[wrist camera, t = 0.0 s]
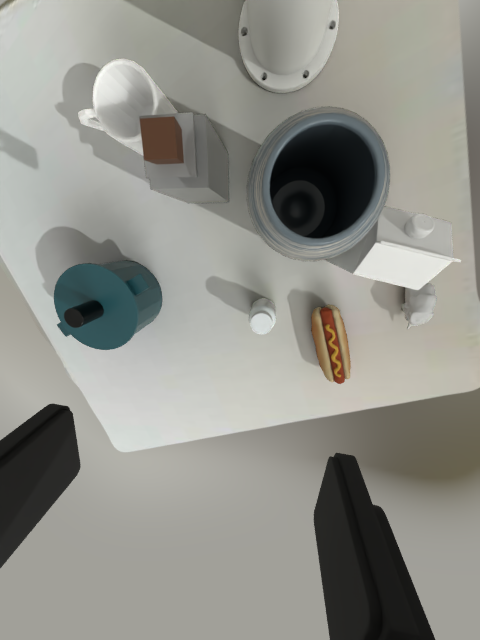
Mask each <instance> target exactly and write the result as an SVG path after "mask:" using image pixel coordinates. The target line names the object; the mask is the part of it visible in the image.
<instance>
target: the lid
mask: <svg viewBox="0 0 480 640" xmlns="http://www.w3.org/2000/svg"><path fill="white" fill-rule="evenodd" d="M54 304H55V309H56V312H57V315H58V317H59V319H60V321H61V323H62V324H63V326H64V327H65V329H66V330H67V331H68V332H69V333H70V334H71V335H72V336H73V337H74V338H75V339H77V340H78V341H80V342H81V343H83V344H85V345H87V346H89V347H92V348H95V349H101V350H110V349H115V348H118V347H120V346H122V345H124V344H126V343H127V342H128V341H129V340H130V339H131V338H132V337H133V336H134V334H135V332H136V330H137V327H138V323H139V307H138V303H137V300H136V297H135V295H134V293H133V291H132V290H131V288H130V287H129V285H128V284H127V283H126V282H125V280H124V279H123V278H122V277H120V276H119V275H118V274H117V273H115V272H114V271H112V270H110V269H109V268H107V267H104V266H101V265H97V264H91V263H87V264H79V265H75V266H73V267H71V268H69V269H67V270H66V271H65V272H64V273H63V274H62V275H61V276H60V278H59V279H58V281H57V283H56V286H55V290H54Z"/></svg>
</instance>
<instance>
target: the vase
mask: <svg viewBox="0 0 480 640" xmlns="http://www.w3.org/2000/svg"><path fill="white" fill-rule="evenodd" d="M389 184H390V165H389V159H388V154H387V151H386V148H385V146H384V143H383V141H382V139H381V137H380V136H379V134H378V133H377V131H376V130H375V129H374V127H373V126H372V125H371V124H370V123H369V122H368V121H367V120H365V119H364V118H362V117H361V116H359V115H358V114H356V113H354V112H352V111H349V110H346V109H343V108H337V107H330V106H328V107H315V108H311V109H308V110H304V111H301V112H299V113H297V114H295V115H293V116H291V117H289V118H288V119H286V120H285V121H283V122H282V123H281V124H279V125H278V126H277V127H276V128H275V129H274V130H273V131H272V132H271V133H270V134H269V135H268V136H267V138H266V139H265V140H264V142H263V143H262V145H261V146H260V148H259V150H258V152H257V154H256V156H255V158H254V160H253V162H252V165H251V168H250V172H249V176H248V182H247V204H248V210H249V214H250V217H251V220H252V223H253V225H254V227H255V229H256V230H257V232H258V234H259V235H260V236H261V238H262V239H263V240H264V242H265V243H266V244H268V245H269V246H270V247H271V248H272V249H273V250H275V251H277V252H278V253H280V254H282V255H283V256H286V257H289V258H291V259H295V260H301V261H319V260H325V259H329V258H332V257H335V256H337V255H340V254H341V253H343V252H345V251H347V250H349V249H350V248H352V247H353V246H354V245H356V244H357V243H358V242H360V241H361V240H362V239H363V238H364V237H365V236H366V234H367V233H368V232H369V231H370V230H371V228H372V227H373V226H374V224H375V223H376V222H377V220H378V218H379V216H380V214H381V212H382V210H383V208H384V205H385V202H386V199H387V196H388V190H389Z"/></svg>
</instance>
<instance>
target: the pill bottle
mask: <svg viewBox="0 0 480 640" xmlns="http://www.w3.org/2000/svg"><path fill="white" fill-rule="evenodd" d="M275 321H276V308H275V305H274V304H273V302H272V301H270V300H269V299H265V298H262V299H258V300H256V301H255V302H254V303H253V305H252V307H251V310H250V314H249V322H250V326H251V329H252V330H253V331H254V332H255V333H257V334H266V333H268V332H269V331H270V330H271V328H272V327H273V326H274V324H275Z"/></svg>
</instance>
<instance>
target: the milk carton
mask: <svg viewBox="0 0 480 640" xmlns="http://www.w3.org/2000/svg"><path fill="white" fill-rule="evenodd" d="M327 261H328V262H330V263H332V264H334V265H336V266H338V267H340V268H342V269H344V270H346V271H348V272H350V273H352V274H355V275H358V276H362V277H366V278H370V279H374V280H378V281H382V282H386V283H390V284H394V285H398V286H402V287H406V288H410V289H414V290H419V289H420V288H422V287H423V286H424V285H425V284H426V283H427V282H429V281H430V280H431V279H432V278H433V277H435V276H436V275H437V274H438V273H439V272H440V271H442V270H443V269H444V268H445V267H446V266H448V265H449V264H450V263H451V262H452V261H454V262H461V260H459V259H455V258H454V257H453V241H452V225H451V222H449V221H446V220H442V219H438V218H434V217H430V216H428V215H426V214H422V213H417V214H416V213H412V212H408V211H404V210H399V209H395V208H391V207H386V206H384V208H383V210H382V212H381V214H380V216H379V218H378V220H377V222H376V223H375V224H374V226H373V227H372V228H371V230H370V231H369V232H368V233H367V234H366V236H365V237H364V238H363V239H362V240H361V241H360V242H358V243H357V244H356V245H354V246H353V247H352V248H350V249H349V250H347V251H345V252H343V253H341V254H340V255H337V256H335V257H332V258H329V259H327Z"/></svg>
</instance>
